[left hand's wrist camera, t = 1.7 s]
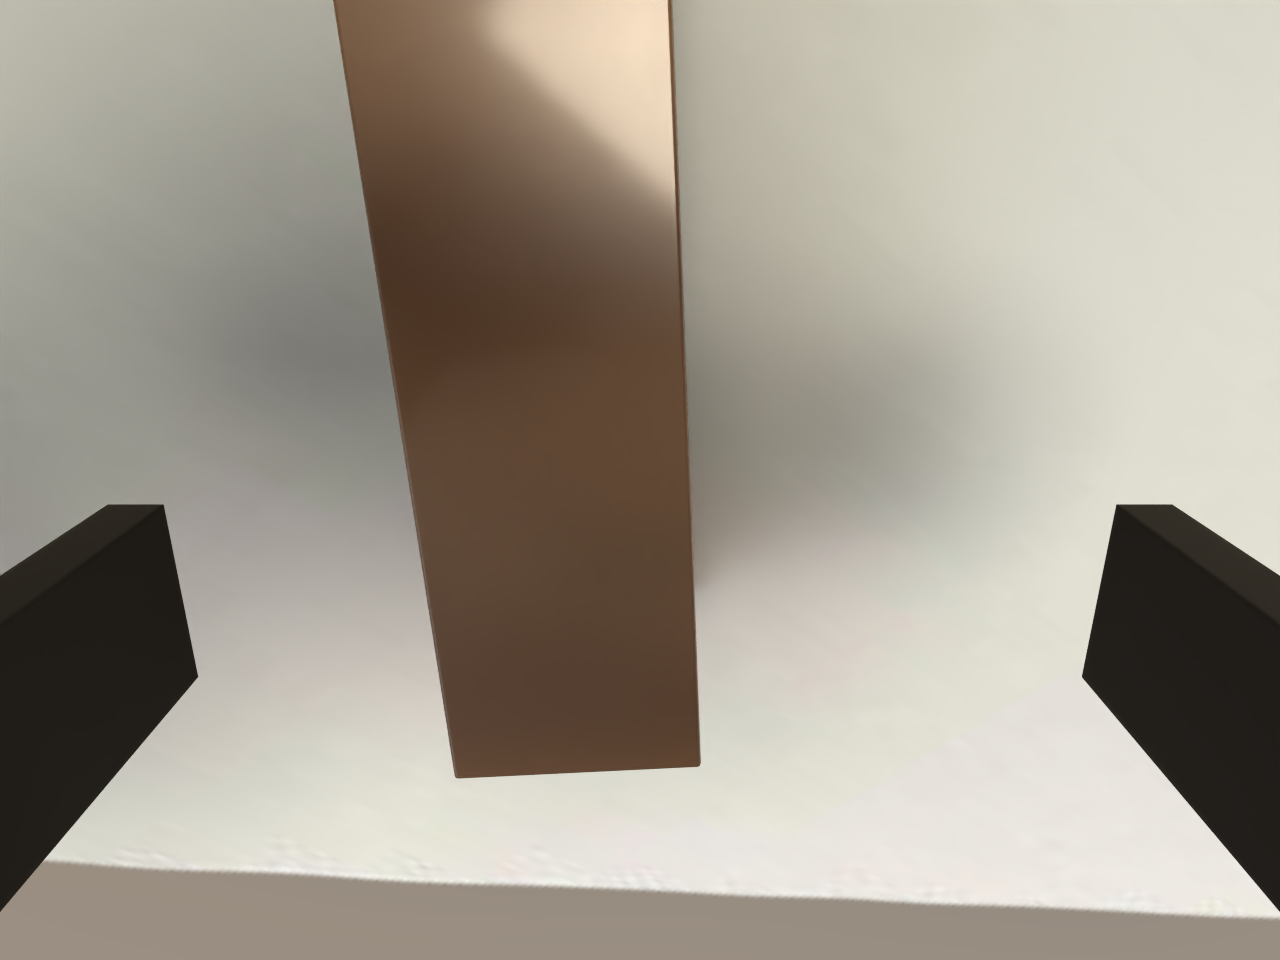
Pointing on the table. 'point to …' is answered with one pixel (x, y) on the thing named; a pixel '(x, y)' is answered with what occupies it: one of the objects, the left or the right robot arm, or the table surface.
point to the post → (537, 366)
